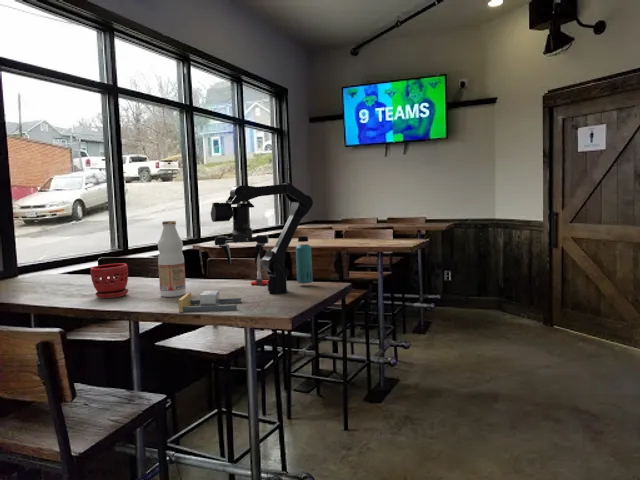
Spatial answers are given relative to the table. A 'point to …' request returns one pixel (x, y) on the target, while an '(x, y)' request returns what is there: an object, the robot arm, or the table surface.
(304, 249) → the beverage bottle
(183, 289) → the fruit juice
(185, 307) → the guide rails
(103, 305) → the table surface
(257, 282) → the receipt spike
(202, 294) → the aluminium lock block
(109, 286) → the plant pot
